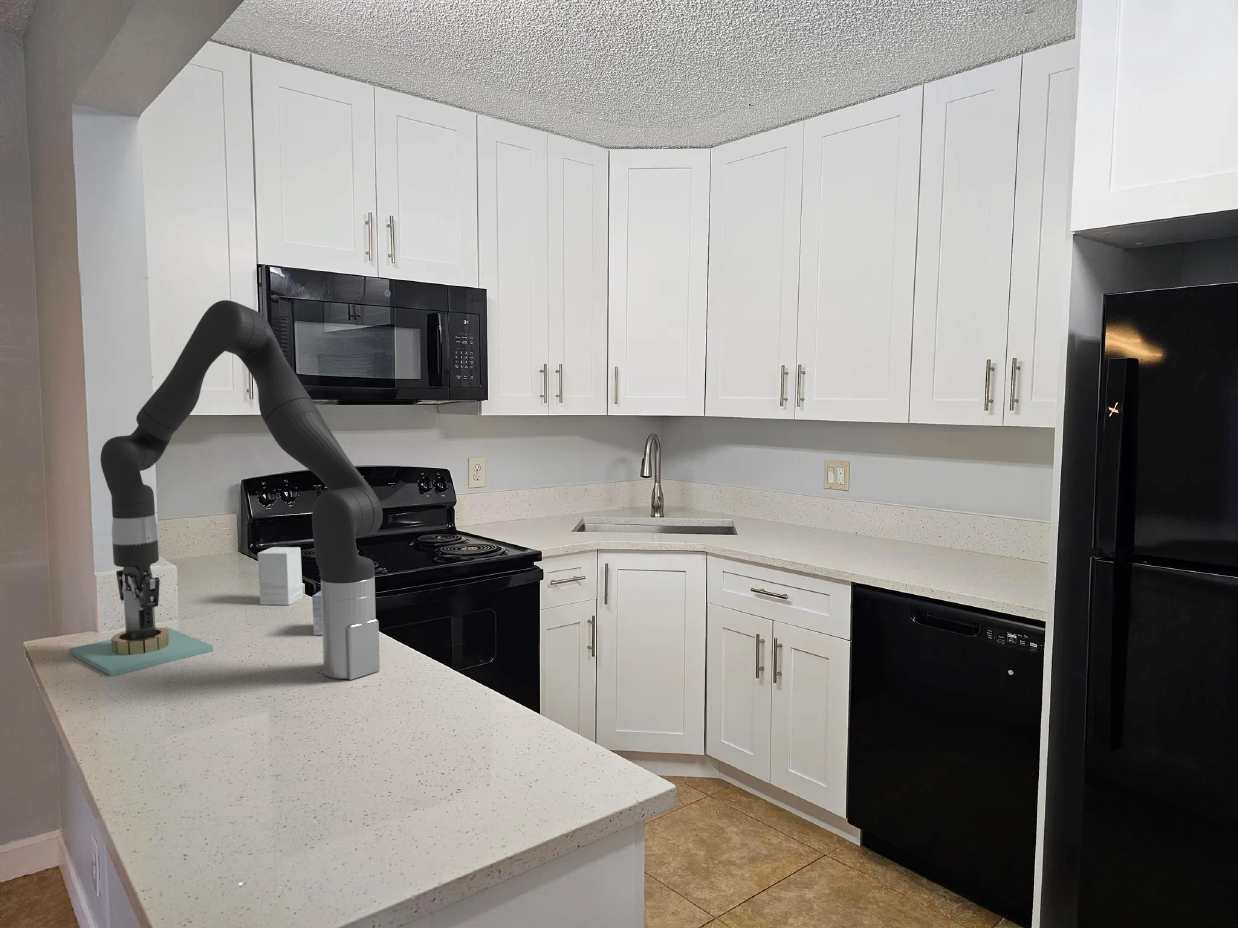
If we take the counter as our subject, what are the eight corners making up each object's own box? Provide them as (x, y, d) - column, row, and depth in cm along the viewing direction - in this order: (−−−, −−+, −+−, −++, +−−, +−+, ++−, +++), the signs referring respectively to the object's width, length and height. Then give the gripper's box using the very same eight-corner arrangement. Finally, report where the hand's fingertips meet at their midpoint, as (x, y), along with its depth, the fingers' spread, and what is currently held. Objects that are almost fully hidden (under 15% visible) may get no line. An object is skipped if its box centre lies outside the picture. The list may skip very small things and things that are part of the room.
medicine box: (334, 635, 169) (333, 594, 168) (313, 635, 169) (311, 594, 168) (347, 624, 177) (346, 585, 176) (327, 624, 177) (326, 585, 176)
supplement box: (303, 597, 199) (302, 546, 198) (288, 605, 192) (286, 552, 191) (275, 596, 200) (273, 546, 199) (258, 604, 193) (256, 552, 192)
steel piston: (160, 639, 159) (157, 589, 158) (132, 645, 155) (129, 594, 154) (149, 634, 162) (146, 585, 161) (121, 640, 158) (118, 590, 157)
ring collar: (177, 645, 159) (176, 633, 159) (124, 658, 152) (124, 645, 152) (156, 636, 165) (155, 624, 165) (104, 648, 158) (103, 635, 157)
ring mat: (212, 650, 159) (212, 645, 159) (111, 676, 145) (110, 670, 145) (166, 631, 172) (166, 626, 172) (69, 653, 158) (68, 648, 157)
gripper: (172, 540, 155) (177, 628, 157) (140, 532, 164) (145, 615, 165) (129, 546, 149) (135, 637, 151) (98, 537, 158) (103, 623, 159)
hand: (140, 625), depth 158 cm, fingers closed on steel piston, 5 cm apart
